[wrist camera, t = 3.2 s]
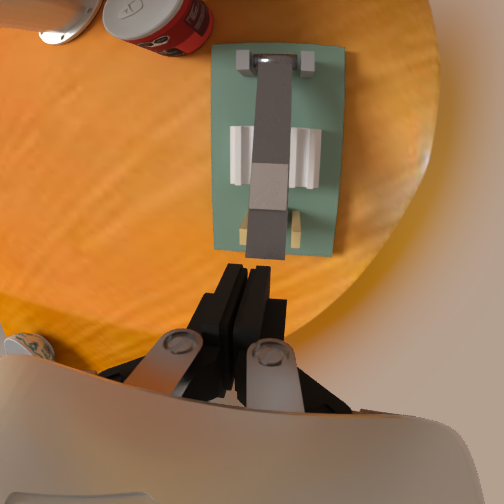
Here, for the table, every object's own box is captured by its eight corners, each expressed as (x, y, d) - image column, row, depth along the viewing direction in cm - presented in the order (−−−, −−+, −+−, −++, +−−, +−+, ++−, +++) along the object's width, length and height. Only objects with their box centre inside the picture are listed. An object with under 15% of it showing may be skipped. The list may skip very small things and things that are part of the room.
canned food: (140, 37, 27) (88, 17, 17) (185, -8, 24) (147, -45, 14) (179, 71, 29) (133, 55, 19) (229, 24, 26) (201, -13, 16)
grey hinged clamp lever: (255, 60, 24) (253, 49, 23) (297, 60, 24) (297, 50, 22) (241, 256, 24) (237, 257, 23) (291, 260, 24) (291, 260, 22)
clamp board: (215, 47, 27) (192, 29, 20) (342, 50, 26) (356, 30, 19) (217, 244, 37) (199, 275, 30) (330, 251, 36) (338, 285, 29)
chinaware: (32, 355, 58) (16, 374, 51) (15, 310, 51) (-4, 329, 44) (74, 377, 57) (59, 399, 50) (59, 332, 51) (39, 355, 44)
